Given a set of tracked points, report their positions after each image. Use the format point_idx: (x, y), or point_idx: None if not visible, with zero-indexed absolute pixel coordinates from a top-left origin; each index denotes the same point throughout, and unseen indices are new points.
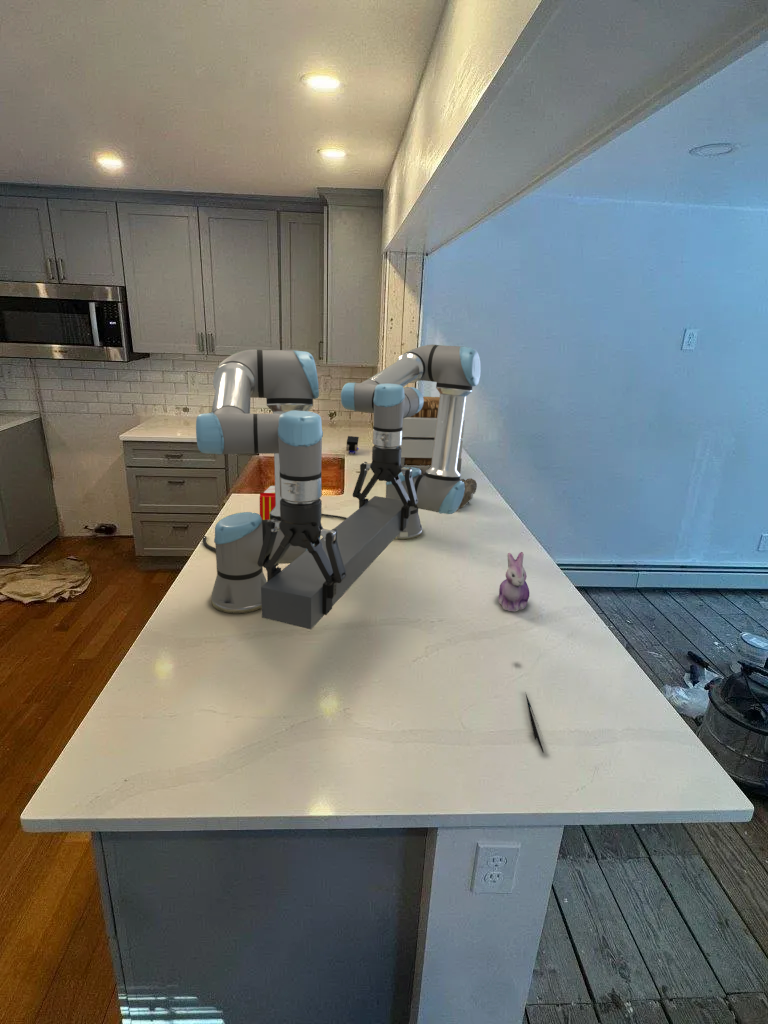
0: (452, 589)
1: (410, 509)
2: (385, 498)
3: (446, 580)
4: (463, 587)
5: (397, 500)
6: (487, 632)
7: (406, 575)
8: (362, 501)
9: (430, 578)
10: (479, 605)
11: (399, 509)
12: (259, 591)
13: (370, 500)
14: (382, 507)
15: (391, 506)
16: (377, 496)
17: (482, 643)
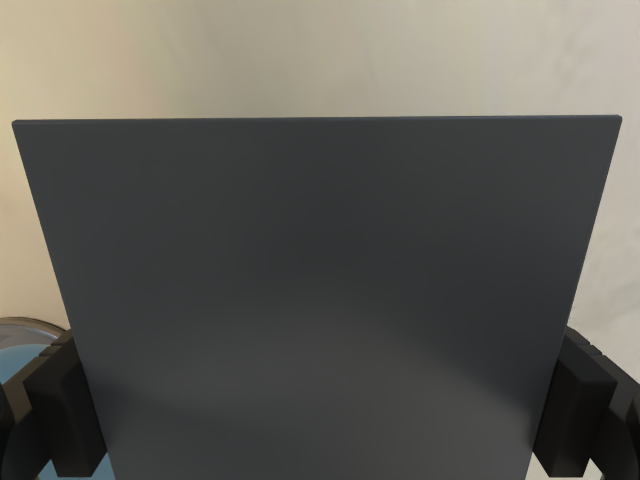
0: (542, 86)
1: (627, 376)
2: (221, 165)
3: (518, 19)
4: (581, 52)
5: (423, 172)
6: (633, 288)
7: (367, 46)
8: (61, 475)
9: (457, 30)
10: (627, 160)
11: (513, 458)
12: None
13: (90, 337)
14: (326, 475)
15: (407, 416)
16: (64, 131)
17: (615, 333)
